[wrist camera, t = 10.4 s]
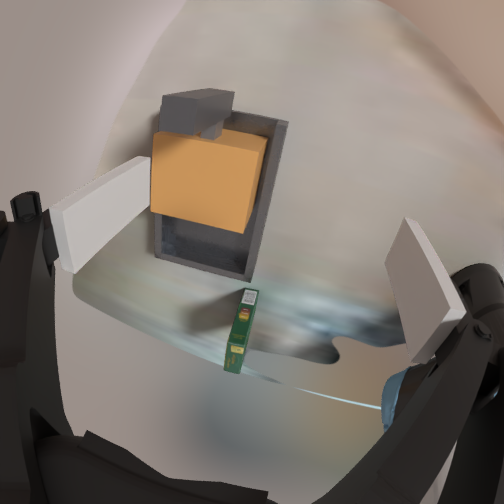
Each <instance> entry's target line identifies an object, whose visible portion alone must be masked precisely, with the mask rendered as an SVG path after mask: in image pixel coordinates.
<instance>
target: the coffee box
mask: <svg viewBox="0 0 504 504" xmlns="http://www.w3.org/2000/svg"><path fill="white" fill-rule="evenodd" d="M258 294H259V290H254V289H249V288H245V289H244V292H243V295H242V298H241V301H240V304H239V307H238V310H237V314H236V317H235V320H234V323H233V326H232V329H231V332H230V335H229V338H228V341H227V347H226V354H225V361H224V370H225V371H228V372H232V373H236V374H239V373H240V370H241V367H242V362H243V358H244V354H245V350H246V346H247V343H248V338H249V334H250V330H251V326H252V322H253V318H254V313H255V309H256V304H257V299H258Z"/></svg>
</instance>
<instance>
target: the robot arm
mask: <svg viewBox="0 0 504 504" xmlns="http://www.w3.org/2000/svg"><path fill="white" fill-rule="evenodd" d="M10 203H11V208H12V213H13V217H14V222H7V219H6V215H5V212H4V211H0V504H278V503H276V502H274V501H272V500H269V499H267V496H268V491H263V490H256V489H251V488H246V487H241V486H237V485H232V484H227V483H223V482H211V481H193V480H182V479H172V478H168V477H165V476H164V475H162V474H161V473H159V472H157V471H156V470H154V469H153V468H151V467H150V466H148V465H147V464H145V463H144V462H143V461H141V460H140V459H139V458H137V457H136V456H134V455H133V454H132V453H130V452H129V451H128V450H126V449H124V448H122V447H120V446H118V445H116V444H113V443H111V442H110V441H107V440H105V439H103V438H101V437H100V436H98V435H96V434H93V433H91V432H90V431H88V430H87V431H86V433H85V435H84V437H81V436H74V434H73V432H72V430H71V427H70V425H69V423H68V421H67V419H66V416H65V413H64V409H63V402H62V396H61V389H60V382H59V374H58V365H57V354H56V339H55V312H54V295H55V266H54V261H55V260H56V259H57V258H58V257H59V259H60V263H61V267H62V269H63V270H66V271H68V272H71V273H73V274H76V273H77V272H78V271H79V270H80V269H81V268H82V267H83V266H84V265H85V264H86V263H87V262H88V261H89V260H90V259H91V258H92V257H93V256H94V255H95V254H96V253H97V252H98V251H99V250H100V249H101V248H102V247H103V246H104V245H105V244H106V243H107V242H109V241H110V240H111V239H112V238H113V237H114V236H115V235H116V234H117V233H118V232H119V231H120V230H122V229H123V228H124V227H125V226H126V225H127V224H128V223H129V222H131V221H132V220H133V219H134V218H135V217H136V216H137V215H138V214H140V213H141V212H142V211H143V210H144V209H145V208H147V207H148V206H149V205H150V157H143V156H137V157H135V158H133V159H131V160H129V161H127V162H125V163H123V164H122V165H120V166H118V167H116V168H114V169H112V170H110V171H109V172H107V173H105V174H103V175H102V176H100V177H98V178H96V179H95V180H93V181H91V182H90V183H88V184H86V185H84V186H83V187H81V188H80V189H78V190H76V191H75V192H73V193H71V194H70V195H68V196H67V197H65V198H64V199H62V200H60V201H59V202H57V203H56V204H54V205H53V206H51V207H50V208H49V209H47V210H46V211H44V212H43V213H42V208H41V203H40V196H39V193H38V192H35V191H29V192H25V193H21V194H19V195H17V196H16V197H14V198H13V199H12V200H11V201H10ZM385 265H386V268H387V272H388V275H389V278H390V282H391V285H392V289H393V292H394V296H395V299H396V303H397V307H398V311H399V315H400V319H401V323H402V327H403V331H404V336H405V340H406V345H407V349H408V354H409V358H410V362H413V363H420V364H418V365H415V366H412V367H411V366H410V367H408V368H407V369H406V370H404V371H401V372H399V373H397V374H394V375H393V376H391V377H390V378H389V379H388V380H387V382H386V384H385V386H384V389H383V393H382V404H381V405H382V406H381V412H382V423H383V424H384V434H383V436H382V437H381V438H380V439H379V440H378V441H377V443H376V444H375V445H374V446H373V447H372V448H371V449H370V451H369V452H368V453H367V454H366V455H365V456H364V457H363V458H362V459H361V460H360V461H359V463H358V464H357V465H356V466H355V467H354V468H353V469H352V470H351V471H350V472H349V473H348V474H347V475H346V476H345V477H344V478H343V479H342V480H341V481H340V482H339V483H337V484H336V485H335V486H334V487H333V488H332V489H331V490H330V491H329V492H328V493H326V494H325V495H324V496H323V497H321V498H320V499H318V500H317V501H315V502H313V503H312V504H504V282H503V279H502V277H501V276H500V274H499V273H498V271H497V270H496V269H495V268H494V267H493V266H491V265H489V264H475V265H472V266H469V267H467V268H465V269H463V270H461V271H460V272H458V273H457V274H456V275H455V276H453V277H452V278H451V277H450V276H449V275H448V274H447V272H446V270H445V268H444V266H443V264H442V263H441V261H440V259H439V257H438V255H437V254H436V252H435V250H434V249H433V247H432V245H431V243H430V242H429V240H428V238H427V237H426V235H425V234H424V232H423V230H422V229H421V227H420V226H419V224H418V222H417V221H414V220H411V219H408V218H405V217H404V219H403V221H402V224H401V226H400V229H399V231H398V233H397V236H396V238H395V240H394V243H393V245H392V247H391V249H390V251H389V254H388V256H387V258H386V260H385ZM434 354H435V356H436V357H434V358H432V359H431V357H432V356H433V355H434Z"/></svg>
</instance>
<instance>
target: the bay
mask: <svg viewBox="0 0 504 504" xmlns="http://www.w3.org/2000/svg"><path fill="white" fill-rule="evenodd" d="M161 106H162V105H161ZM160 116H161V107H160ZM288 123H289V122H288V121H284V120H279V119H275V118H270V117H265V116H260V115H255V114H250V113H245V112H239V111H234V110H231V116H230V117H228V118H226V119H224V122H223V129H227V130H233V131H238V132H243V133H248V134H253V135H258V136H263V137H267V138H269V139H268V143H267V148H266V153H265V158H264V162H263V167H262V172H261V177H260V182H259V186H258V191H257V196H256V201H255V206H254V208H253V211H252V213H251V216H250V218H249V220H248V223H247V225H246V228H245V230H244V233H243V234H242V233H238V232H234V231H230V230H226V229H222V228H218V227H213V226H209V225H205V224H201V223H197V222H193V221H189V220H184V219H180V218H176V217H172V216H168V215H163V214H159V213H155V257H156V258H160V259H163V260H167V261H170V262H174V263H178V264H181V265H185V266H188V267H192V268H196V269H200V270H203V271H207V272H211V273H214V274H218V275H222V276H226V277H230V278H233V279H237V280H241V281H245V282H249V283H251V280H252V276H253V273H254V269H255V265H256V261H257V257H258V252H259V248H260V244H261V240H262V235H263V231H264V227H265V223H266V218H267V214H268V210H269V205H270V201H271V197H272V192H273V188H274V184H275V179H276V175H277V171H278V166H279V162H280V158H281V153H282V149H283V145H284V140H285V136H286V132H287V127H288ZM159 127H160V118H159ZM158 132H159V129H158Z"/></svg>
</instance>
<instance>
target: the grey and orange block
mask: <svg viewBox="0 0 504 504" xmlns="http://www.w3.org/2000/svg"><path fill="white" fill-rule="evenodd" d="M234 93H235V92H233V91H226V90H219V89H211V88H208V89H200V90H193V91H186V92H180V93H174V94H168V95H163V97H162V106H161V116H160V127H159V132H157V133H155V134H154V136H153V151H152V172H151V212H155V213H159V214H163V215H168V216H172V217H176V218H180V219H184V220H189V221H193V222H197V223H201V224H205V225H209V226H213V227H218V228H222V229H226V230H230V231H234V232H238V233H242V234H243V233H244V230H245V228H246V225H247V223H248V220H249V218H250V216H251V213H252V211H253V208H254V206H255V201H256V196H257V191H258V186H259V182H260V177H261V172H262V167H263V162H264V158H265V153H266V148H267V143H268V139H269V138H267V137H263V136H258V135H253V134H248V133H243V132H238V131H233V130H227V129H223V122H224V119H226V118H228V117H230V116H231V110H232V104H233V99H234Z"/></svg>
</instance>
